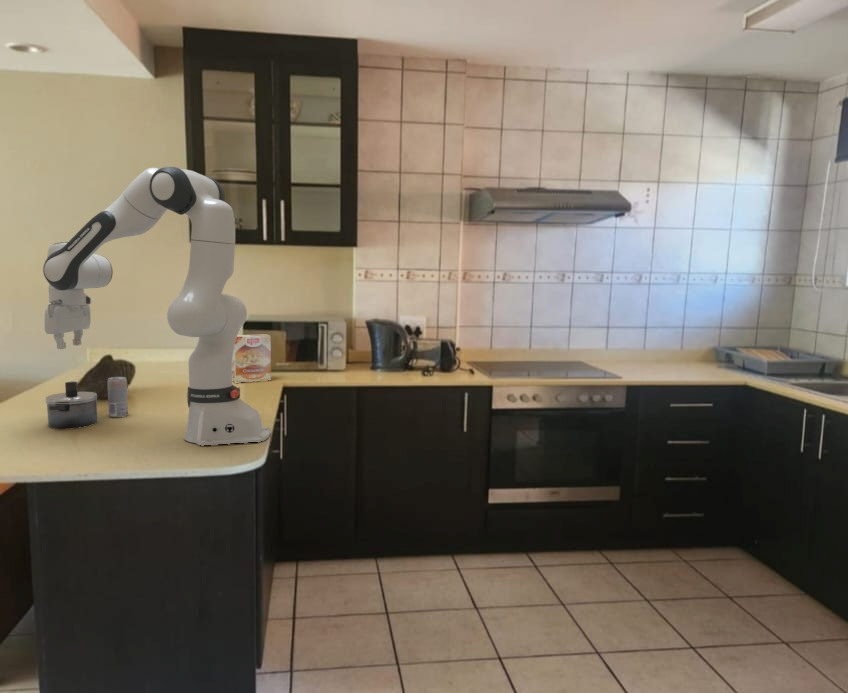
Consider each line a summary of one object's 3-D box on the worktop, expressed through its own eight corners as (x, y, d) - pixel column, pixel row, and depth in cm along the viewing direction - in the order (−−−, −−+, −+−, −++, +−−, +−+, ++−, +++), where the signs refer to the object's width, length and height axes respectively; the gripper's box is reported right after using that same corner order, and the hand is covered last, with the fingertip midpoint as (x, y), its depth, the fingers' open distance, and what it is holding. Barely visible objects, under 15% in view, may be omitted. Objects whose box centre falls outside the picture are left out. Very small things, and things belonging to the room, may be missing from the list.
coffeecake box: (235, 383, 251) (234, 336, 249) (231, 381, 257) (230, 334, 255) (271, 381, 259) (271, 335, 256) (266, 378, 265) (266, 333, 262)
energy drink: (123, 413, 196) (121, 376, 194) (131, 415, 192) (129, 378, 191) (106, 416, 191) (104, 378, 190) (113, 418, 188) (112, 380, 187)
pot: (108, 416, 190) (107, 392, 190) (82, 431, 173) (81, 404, 172) (64, 417, 189) (63, 392, 188) (33, 431, 172) (32, 404, 171)
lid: (104, 394, 187) (103, 378, 187) (84, 402, 174) (83, 386, 174) (59, 394, 186) (59, 378, 186) (36, 403, 173) (35, 386, 173)
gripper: (60, 300, 167) (63, 351, 169) (93, 298, 187) (96, 343, 189) (36, 300, 166) (39, 351, 168) (72, 298, 187) (74, 343, 188)
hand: (69, 347), depth 179 cm, fingers open, 8 cm apart
